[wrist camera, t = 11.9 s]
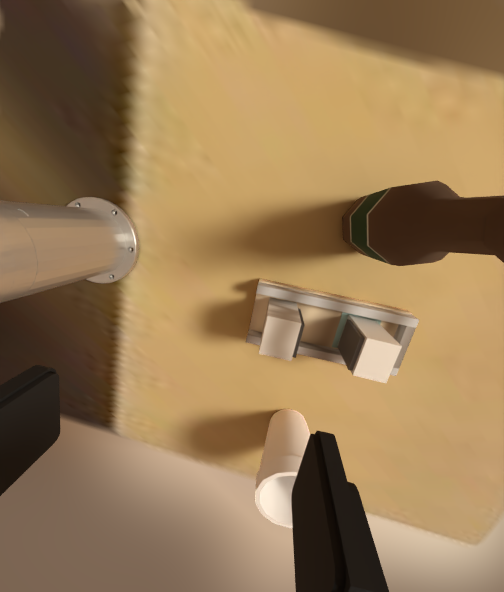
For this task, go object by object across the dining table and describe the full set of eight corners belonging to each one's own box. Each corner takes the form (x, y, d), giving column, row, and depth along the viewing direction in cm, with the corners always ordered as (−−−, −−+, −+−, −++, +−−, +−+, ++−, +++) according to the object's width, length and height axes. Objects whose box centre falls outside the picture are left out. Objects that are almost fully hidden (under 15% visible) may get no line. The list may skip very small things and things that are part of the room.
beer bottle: (331, 245, 36) (424, 282, 13) (351, 187, 34) (507, 109, 11) (384, 260, 36) (576, 324, 13) (408, 203, 34) (690, 157, 11)
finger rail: (248, 333, 41) (239, 364, 32) (259, 278, 38) (254, 295, 29) (385, 364, 40) (417, 405, 31) (407, 309, 37) (448, 337, 28)
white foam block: (334, 344, 38) (348, 374, 31) (345, 313, 37) (362, 336, 29) (364, 351, 38) (386, 383, 30) (376, 320, 37) (402, 346, 29)
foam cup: (277, 392, 43) (277, 460, 31) (325, 416, 44) (344, 492, 31) (252, 431, 46) (242, 508, 33) (297, 453, 46) (305, 538, 34)
